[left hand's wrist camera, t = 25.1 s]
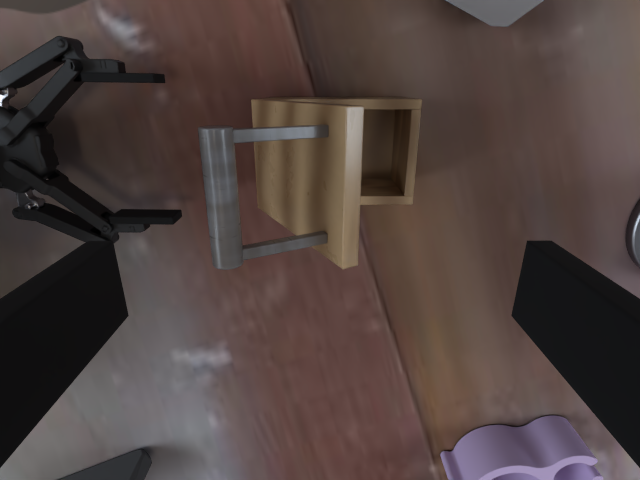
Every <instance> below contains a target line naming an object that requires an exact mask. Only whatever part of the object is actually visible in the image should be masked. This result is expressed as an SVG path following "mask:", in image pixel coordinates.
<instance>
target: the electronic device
mask: <svg viewBox="0 0 640 480" xmlns="http://www.w3.org/2000/svg"><path fill="white" fill-rule="evenodd" d="M446 1H447V2H449V3H451V4H453V5H454V6H456V7H458V8H460V9H462V10H463V11H465V12H467V13H469V14H471V15H472V16H474V17H476V18H478V19H479V20H481V21H483V22H485V23H487V24H488V25H490V26H503V27H508V26H509V25H511V24H512V23H514V22H515V21H516V20H518V19H519V18H520V17H522V16H523V15H525V14H526V13H527V12H529V11H530V10H531V9H533V8H534V7H536V6H537V5H538V4H540V3H541V2H542V1H544V0H446Z"/></svg>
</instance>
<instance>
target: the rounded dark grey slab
mask: <svg viewBox="0 0 640 480" xmlns="http://www.w3.org/2000/svg"><path fill="white" fill-rule="evenodd" d="M151 463H152V462H151V458H150V456H149V455H148V454H147V452H146V451H145V450H142V449H140V450H137V451H133V452H130V453H127V454H125V455H122V456H120V457H117V458H114V459H112V460H109V461H107V462H104V463H101V464H99V465H96V466H94V467H91V468H88V469H86V470H83V471H81V472H78V473H75V474H73V475H70V476H67V477H65V478H62V479H60V480H144V479H145V477H146V474H147V472H148V470H149V468H150V466H151Z"/></svg>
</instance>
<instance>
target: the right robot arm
mask: <svg viewBox="0 0 640 480" xmlns="http://www.w3.org/2000/svg"><path fill="white" fill-rule="evenodd" d="M63 63H64V64H63ZM61 64H63V66H62V67H61V68H60V69H59V70H58V71H57V72H56V74H55V75H54V76H53V77H52V78H51V79H50V80H49V81H48V83H47V84H46V85H45V86H44V87H43V88H42V89H41V91H40V92H39V93H38V94H37V95H36V96H35V97H34V99H33V100H32V101H31V102H30V103H29V104H28V105H27V106H26V107H24V108H22V109H21V110H17V109H16V108H14V107H12V106H9V100H10V99H11V98H12V97H14V96H15V94H17V88H21V87H24V86H26V85H28V84H30V83H32V82H33V81H35V80H37V79H38V78H40V77H41V76H43V75H45V74H46V73H48V72H50V71H51V70H53V69H55V68H56V67H58V66H60V65H61ZM84 82H129V83H165V77H164V74H151V73H126V70H125V64H124V62H121V61H119V60H112V59H89V58H88V57H87V56H86V55H85V54H84V52H83V45H82V43H81V42H80V41H79V40H77V39H72V38H67V37H62V36H57V37H55V38H53V39H52V40H50V41H49V42H47V43H45V44H44V45H42V46H41V47H39V48H37V49H36V50H34V51H32V52H31V53H29V54H28V55H26V56H24V57H23V58H21V59H20V60H18V61H16V62H15V63H13V64H12V65H10V66H8V67H7V68H5V69H3V70H2V71H0V188H6V189H10V190H12V191H14V192H16V195H17V201H18V207H17V208H15V209H13V211H12V213H13V215H14V217H16V218H17V219H23V220H31V221H37V222H39V223H42V224H44V225H46V226H49V227H51V228H53V229H56V230H58V231H60V232H63V233H65V234H67V235H70V236H72V237H74V238H77V239H79V240H81V241H84V242H88V241H113V243H115V242H116V241H117V240H118V239H119V234H118V232H143V231H145V230H146V229H147V228H149V227H150V224H174V223H175V222H176V221H178V220H179V219H180V218H181V217H182V213H181V210H148V209H121V210H119V211H118V212H116V213H113V212H112V211H110V210H109V209H108V208H106V207H105V206H103V205H102V204H101V203H99V202H98V201H96V200H95V199H93V198H92V197H91V196H89V195H88V194H86V193H85V192H84V191H82V190H81V189H79V188H78V187H77V186H75V185H74V184H72V183H71V182H70V181H69V179H68V177H67V176H65V175H64V174H63V173H61V172H60V171H58V170H57V169H56V166H57V165H59V162H58V158H57V156H56V153H55V151H54V149H53V146H54V141H53V137H52V134H49V133H48V131H47V130H46V129H45V127H46V126H47V125H48V124H49V123H50V122H51V121H52V120H53V119H54V114H55V113H56V112H57V111H58V110H59V109H60V108H61V107H62V106H63V105H64V103H65V102H66V101H67V100H68V99H69V98H70V97H71V96H72V95H73V94H74V92H75V91H76V90H77V89H78V88H79V87H80V86H81V85H82V84H83V83H84ZM47 178H48V179H49V180H46V179H47ZM34 189H35V190H37V191H38V192H40V193H42V194H45V195H49V196H51V197H52V198H54V199H55V200H56V201H58V202H59V203H61V204H62V205H64V206H65V207H67V208H68V209H70V210H71V211H72V212H74V213H75V214H74V213H72V212H69V211H67V210H65V209H62V208H60V207H58V206H55V205H52V204H48V203H45V200H44V199H42V198H41V199H40V198H38V197H36V196H34V195H33V193H32V190H34ZM76 214H77V215H76Z"/></svg>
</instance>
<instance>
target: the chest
mask: <svg viewBox="0 0 640 480" xmlns="http://www.w3.org/2000/svg"><path fill="white" fill-rule="evenodd" d="M263 99H268V100H284V101H300V102H315V103H331V104H347V105H362V106H364V124H363V149H362V174H361V199H360V205H413V194H414V183H415V172H416V161H417V150H418V139H419V128H420V117H421V110H420V109H421V106H422V99H416V98H406V97H268V98H263Z"/></svg>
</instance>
